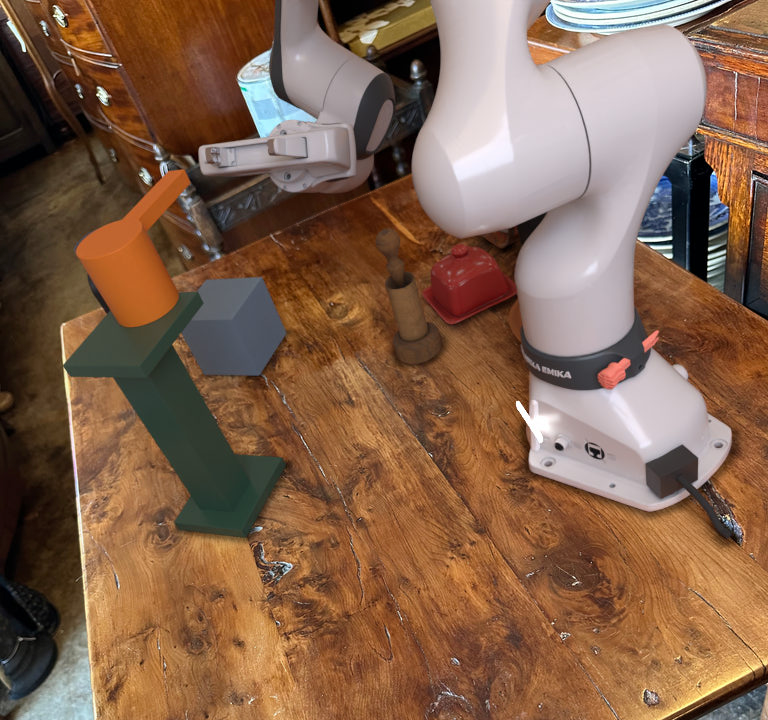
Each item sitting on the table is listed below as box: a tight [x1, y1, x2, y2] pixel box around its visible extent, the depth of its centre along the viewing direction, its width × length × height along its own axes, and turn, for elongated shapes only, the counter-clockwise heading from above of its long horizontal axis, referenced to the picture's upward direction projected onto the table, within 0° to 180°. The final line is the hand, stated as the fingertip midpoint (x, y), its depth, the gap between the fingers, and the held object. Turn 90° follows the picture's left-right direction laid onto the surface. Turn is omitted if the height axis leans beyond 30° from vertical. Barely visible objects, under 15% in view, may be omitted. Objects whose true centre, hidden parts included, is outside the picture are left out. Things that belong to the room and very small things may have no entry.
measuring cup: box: [75, 168, 191, 327], centre depth 82 cm, size 17×7×8 cm, turn 160°
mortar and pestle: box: [375, 228, 443, 365], centre depth 102 cm, size 7×6×18 cm
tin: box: [480, 226, 520, 249], centre depth 120 cm, size 15×3×8 cm, turn 25°
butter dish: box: [421, 243, 517, 325], centre depth 111 cm, size 12×12×8 cm
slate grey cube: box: [180, 276, 287, 377], centre depth 117 cm, size 10×10×10 cm
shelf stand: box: [62, 291, 287, 539], centre depth 90 cm, size 12×10×26 cm
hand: (239, 150), depth 94 cm, fingers open, 8 cm apart
